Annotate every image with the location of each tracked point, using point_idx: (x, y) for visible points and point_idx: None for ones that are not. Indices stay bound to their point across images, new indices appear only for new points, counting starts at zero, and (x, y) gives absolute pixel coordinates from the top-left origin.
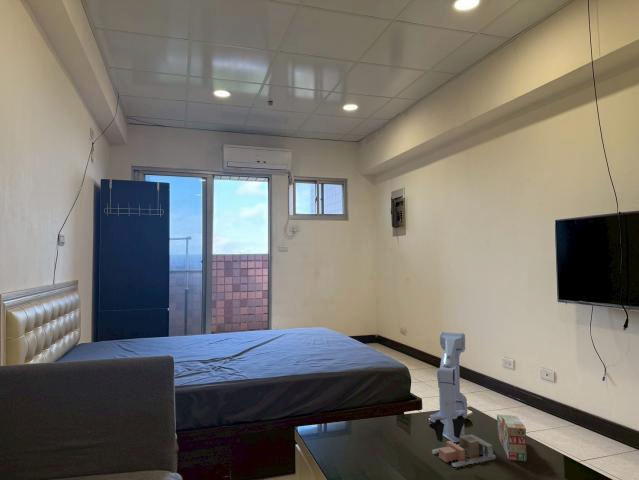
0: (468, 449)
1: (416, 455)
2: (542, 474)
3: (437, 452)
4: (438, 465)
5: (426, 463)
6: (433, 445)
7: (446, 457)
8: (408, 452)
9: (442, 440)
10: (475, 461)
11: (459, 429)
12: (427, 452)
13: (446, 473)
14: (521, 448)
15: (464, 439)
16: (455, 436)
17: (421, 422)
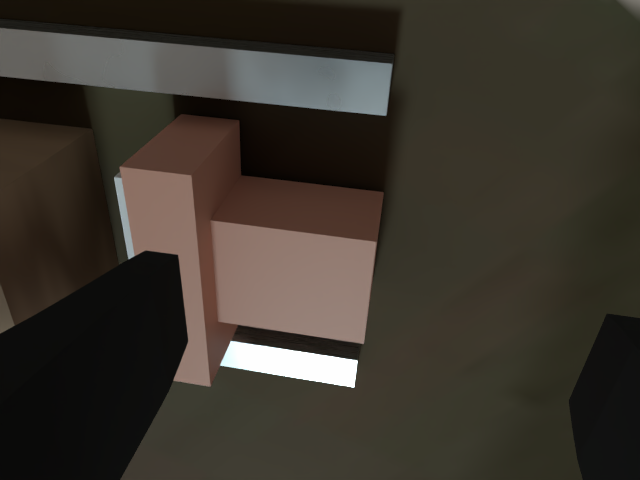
0: (48, 192)
1: (516, 399)
2: None
3: (325, 343)
4: (497, 190)
5: (569, 273)
6: (256, 425)
7: (371, 215)
8: (530, 453)
9: (623, 326)
10: (84, 32)
11: (36, 371)
12: (386, 386)
13: (581, 8)
14: None
15: (5, 299)
16: (181, 322)
17: None
